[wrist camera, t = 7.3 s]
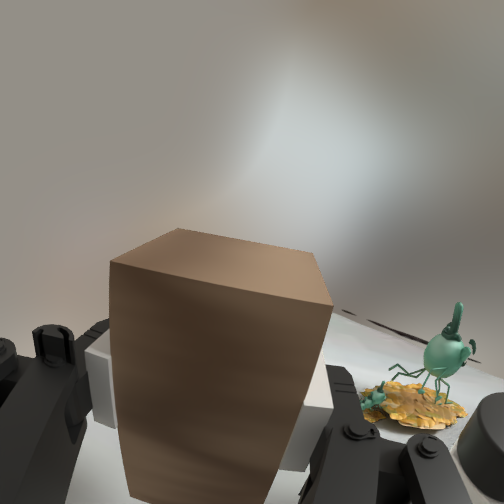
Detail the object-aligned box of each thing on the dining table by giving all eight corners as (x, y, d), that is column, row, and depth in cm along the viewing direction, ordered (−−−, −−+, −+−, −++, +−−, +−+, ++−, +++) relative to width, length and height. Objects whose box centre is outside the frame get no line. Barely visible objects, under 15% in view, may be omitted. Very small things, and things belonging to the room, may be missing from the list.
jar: (485, 552, 9) (590, 444, 6) (408, 596, 7) (542, 499, 5) (442, 488, 17) (516, 380, 15) (368, 512, 16) (450, 397, 13)
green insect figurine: (334, 379, 35) (384, 267, 32) (446, 403, 34) (497, 309, 30) (341, 431, 26) (413, 295, 23) (470, 446, 24) (537, 338, 21)
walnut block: (262, 446, 14) (312, 253, 11) (252, 526, 9) (333, 305, 6) (164, 424, 14) (178, 228, 12) (130, 496, 9) (109, 260, 7)
